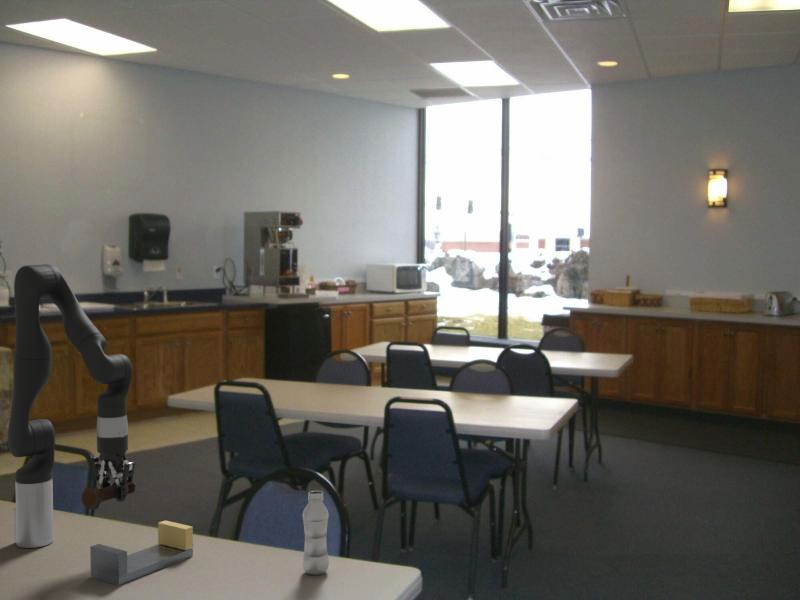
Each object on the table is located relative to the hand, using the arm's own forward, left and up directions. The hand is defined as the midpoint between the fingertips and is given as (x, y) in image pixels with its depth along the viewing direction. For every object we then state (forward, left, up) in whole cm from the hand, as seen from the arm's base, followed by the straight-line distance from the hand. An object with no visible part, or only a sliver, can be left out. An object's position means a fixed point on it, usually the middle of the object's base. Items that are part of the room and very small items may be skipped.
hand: (113, 499), depth 223 cm
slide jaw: (+10, +11, -13) cm, 20 cm away
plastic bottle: (+49, +20, -16) cm, 55 cm away
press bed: (+10, +1, -16) cm, 19 cm away
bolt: (0, -1, -1) cm, 1 cm away
